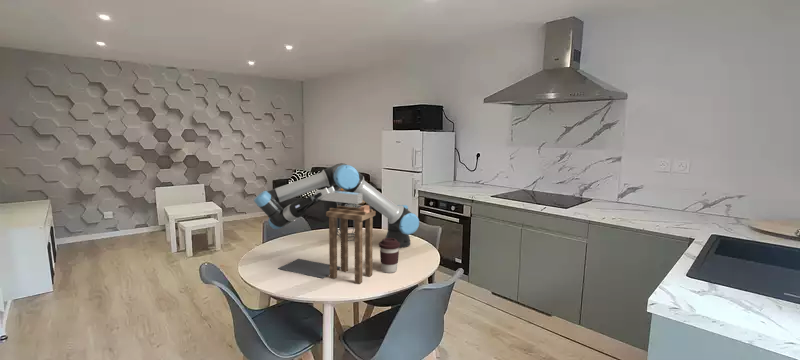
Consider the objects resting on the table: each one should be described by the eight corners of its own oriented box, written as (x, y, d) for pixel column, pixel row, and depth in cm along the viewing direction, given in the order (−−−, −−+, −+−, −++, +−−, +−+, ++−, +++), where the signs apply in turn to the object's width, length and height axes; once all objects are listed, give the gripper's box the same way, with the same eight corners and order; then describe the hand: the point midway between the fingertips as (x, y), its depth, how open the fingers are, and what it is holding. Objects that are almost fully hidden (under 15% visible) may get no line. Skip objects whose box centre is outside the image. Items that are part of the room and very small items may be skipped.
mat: (277, 269, 177) (277, 268, 177) (298, 259, 191) (298, 258, 191) (323, 278, 167) (323, 277, 167) (341, 267, 180) (341, 266, 180)
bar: (315, 199, 170) (315, 190, 169) (320, 198, 174) (320, 189, 173) (357, 203, 161) (357, 194, 161) (362, 202, 165) (362, 193, 164)
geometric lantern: (361, 242, 222) (360, 183, 217) (335, 244, 219) (333, 184, 214) (359, 234, 238) (357, 179, 232) (333, 236, 234) (331, 180, 229)
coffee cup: (392, 276, 171) (392, 244, 169) (374, 271, 176) (374, 240, 174) (403, 269, 179) (404, 238, 177) (386, 265, 184) (386, 235, 182)
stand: (326, 277, 168) (326, 205, 163) (341, 269, 179) (341, 200, 174) (361, 285, 160) (361, 209, 156) (375, 275, 171) (375, 204, 167)
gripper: (309, 214, 186) (344, 194, 176) (286, 221, 170) (322, 200, 160) (303, 200, 186) (337, 180, 177) (279, 206, 171) (315, 184, 161)
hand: (330, 189), depth 168 cm, fingers closed on bar, 4 cm apart
